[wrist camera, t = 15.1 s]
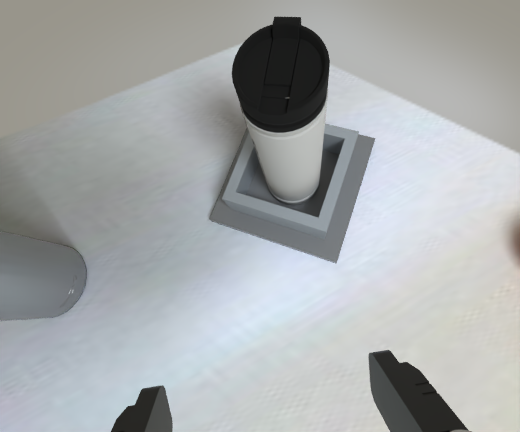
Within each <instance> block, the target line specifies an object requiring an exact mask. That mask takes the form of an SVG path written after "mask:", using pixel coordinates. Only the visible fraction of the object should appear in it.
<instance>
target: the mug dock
mask: <svg viewBox="0 0 520 432" xmlns="http://www.w3.org/2000/svg"><path fill="white" fill-rule="evenodd" d="M358 133H359V132H358V131H354V130H350V129H345V128H341V127H337V126H333V125H328V124H325V128H324V139H323V149H322V160H321V170H320V180H319V187H318V190H317V192H316V194H315V195H314V196H313V197H312V198H311V199H310V200H309V201H307V202H305V203H303V204H300V205H286V204H283V203H281V202H279V201H277V200H276V199H275V198H274V197H273V196H272V194H271V193H270V191H269V188H268V185H267V182H266V179H265V176H264V173H263V170H262V167H261V165H260V162H259V159H258V156H257V153H256V150H255V147H254V144H253V141H252V139H251V136H250V133H249V130H248V127H247V129H246V132H245V134H244V136H243V139H242V141H241V144H240V146H239V149H238V151H237V153H236V156H235V158H234V161H233V163H232V166H231V168H230V170H229V173H228V175H227V178H226V180H225V183H224V185H223V187H222V190H221V192H220V195H219V197H218V200H217V202H216V204H215V207H214V209H213V212H212V214H211V217H210V220H211V221H212V222H215V223H218V224H221V225H224V226H227V227H230V228H233V229H236V230H239V231H242V232H245V233H248V234H251V235H254V236H257V237H260V238H263V239H266V240H268V241H271V242H274V243H277V244H280V245H283V246H286V247H289V248H292V249H295V250H298V251H301V252H304V253H307V254H310V255H313V256H316V257H319V258H321V259H324V260H327V261H330V262H333V263H337V260H338V257H339V253H340V250H341V247H342V244H343V240H344V237H345V234H346V231H347V228H348V224H349V221H350V218H351V215H352V212H353V208H354V205H355V202H356V199H357V195H358V192H359V189H360V186H361V183H362V179H363V176H364V173H365V170H366V167H367V163H368V160H369V157H370V154H371V150H372V147H373V144H374V141H375V138H371V137H367V136H363V135H359V134H358Z"/></svg>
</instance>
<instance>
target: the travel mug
mask: <svg viewBox="0 0 520 432" xmlns="http://www.w3.org/2000/svg"><path fill="white" fill-rule="evenodd" d="M329 63H330V60H329V55H328V51H327V49H326V46H325V44H324V43H323V41H322V40H321V38H320V37H319V36H318V35H317V34H316V33H315V32H313V31H312V30H310V29H308V28H307V27H304V26H302V25H301V18H300V17H274V21H273V25H270V26H267V27H264V28H262V29H260V30H258V31H257V32H255V33H254V34H252V35H251V36H250V37H249V38H248V39H247V40H246V41H245V42H244V43H243V44H242V46H241V47H240V48H239V50H238V52H237V54H236V56H235V59H234V63H233V68H232V78H233V84H234V87H235V90H236V93H237V95H238V98H239V101H240V107H241V110H242V113H243V115H244V118H245V121H246V124H247V127H248V130H249V133H250V136H251V139H252V141H253V144H254V147H255V150H256V153H257V156H258V159H259V162H260V165H261V167H262V170H263V173H264V176H265V179H266V182H267V185H268V188H269V191H270V193H271V194H272V196H273V197H274V198H275V199H276V200H277V201H279V202H281V203H283V204H286V205H300V204H303V203H305V202H307V201H309V200H310V199H311V198H312V197H313V196H314V195H315V194H316V192H317V190H318V187H319V180H320V170H321V160H322V149H323V139H324V128H325V118H326V108H327V97H328V89H327V88H328V77H329Z"/></svg>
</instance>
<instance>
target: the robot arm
mask: <svg viewBox="0 0 520 432" xmlns="http://www.w3.org/2000/svg"><path fill="white" fill-rule="evenodd" d="M85 282H86V267H85V263H84V261H83V259H82V257H81V256H80V254H79V253H78V252H77V251H75V250H74V249H73V248H70V247H68V246H64V245H59V244H55V243H51V242H46V241H42V240H38V239H34V238H29V237H25V236H21V235H16V234H12V233H7V232H3V231H0V321H7V320H25V319H39V318H53V317H56V316H59V315H61V314H63V313H65V312H67V311H68V310H69V309H70V308H71V307H73V305H74V304H75V303H76V302H77V301H78V299H79V297H80V296H81V294H82V292H83V289H84V286H85ZM369 370H370V385H371V391H372V395H373V398H374V401H375V404H376V406H377V408H378V409H379V411H380V413H381V415H382V417H383V419H384V421H385V423H386V425H387V426H388V428H389V430H390V432H471V431H469V430H468V429H467V428H466V427H465V426H464V424H463V423H462V422H461V421H460V419H459V418H458V417H457V416H456V415H455V413H454V412H453V411H452V410H451V408H450V407H449V406H448V405H447V403H446V402H445V401H444V400H443V399H442V397H441V396H440V395H439V394H437V392H436V390H435V389H434V387H433V386H432V385H431V384H429V381H428V380H427V379H426V378H425V376H424V375H423V374H422V373H421V371H420V370H418V369H417V368H415V367H414V366H412V365H411V364H409V363H408V362H403V363H399V362H398V361H397V359H396V358H395V357H394V355H393V354H392V353H391V351H389V350H385V351H379V352H373V353H369ZM111 432H172V417H171V413H170V408H169V404H168V400H167V396H166V391H165V388H164V386H156V387H150V388H144V389H142V390H141V392H140V394H139V397H138V399H137V402H136V404H135V405H133V406H128V407H127V408H126V409H125V410H124V411H123V412H122V414H121V415H120V416H119V417H118V418H117V419H116V422H115V424H114V426H113V428H112V430H111Z"/></svg>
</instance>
